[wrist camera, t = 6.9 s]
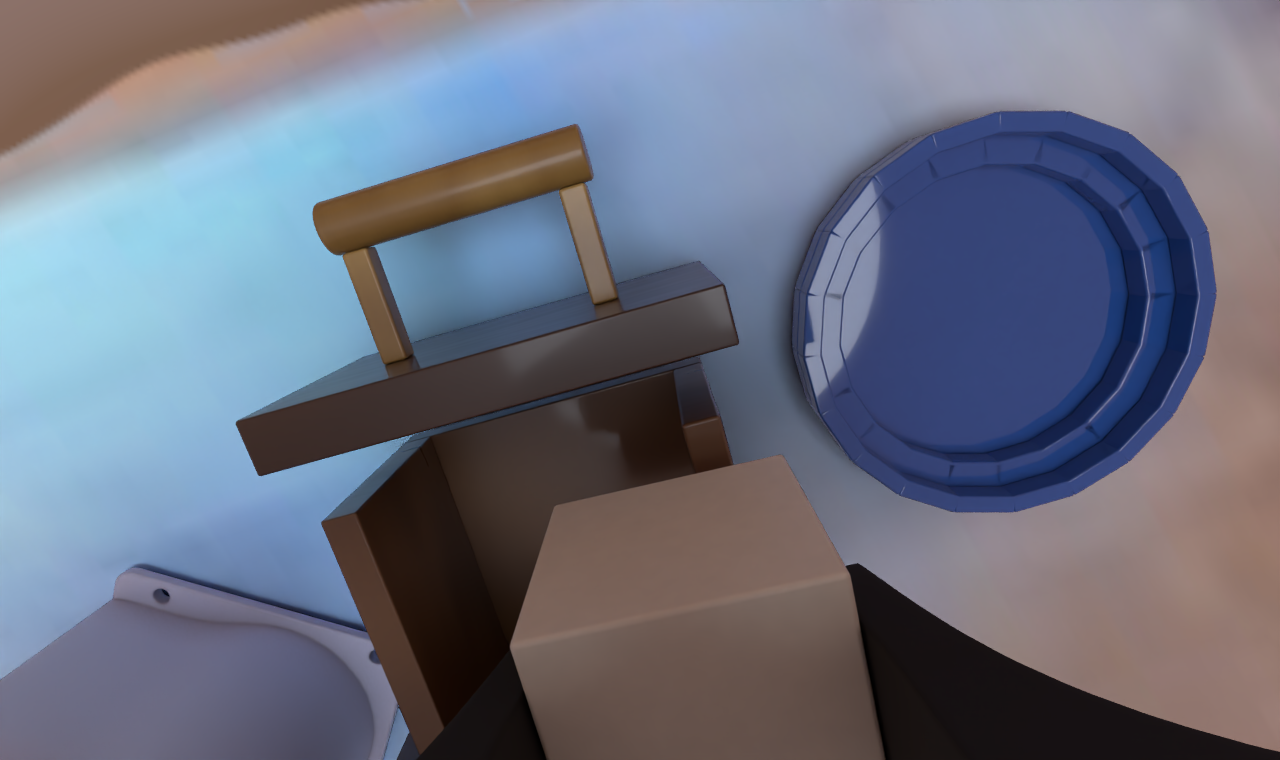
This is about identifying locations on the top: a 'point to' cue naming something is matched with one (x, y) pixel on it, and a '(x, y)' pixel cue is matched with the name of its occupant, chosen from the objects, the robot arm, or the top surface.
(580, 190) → the drawer
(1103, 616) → the top surface
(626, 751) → the block
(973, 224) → the blue saucer
